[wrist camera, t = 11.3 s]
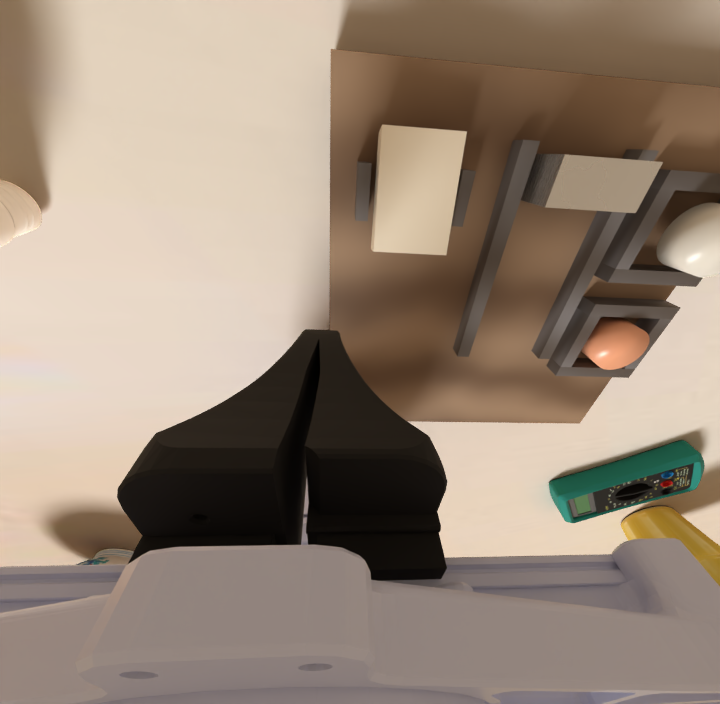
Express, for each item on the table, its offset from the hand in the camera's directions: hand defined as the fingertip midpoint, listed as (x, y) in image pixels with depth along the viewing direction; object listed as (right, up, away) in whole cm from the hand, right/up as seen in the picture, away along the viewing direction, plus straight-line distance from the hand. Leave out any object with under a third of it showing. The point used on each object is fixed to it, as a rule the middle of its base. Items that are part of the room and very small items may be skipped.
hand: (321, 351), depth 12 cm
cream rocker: (+4, +7, +2) cm, 9 cm away
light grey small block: (+12, +9, +3) cm, 15 cm away
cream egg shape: (+19, +6, +4) cm, 20 cm away
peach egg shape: (+18, +1, +9) cm, 21 cm away
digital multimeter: (+32, -14, +24) cm, 42 cm away
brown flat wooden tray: (+11, +4, +9) cm, 15 cm away
